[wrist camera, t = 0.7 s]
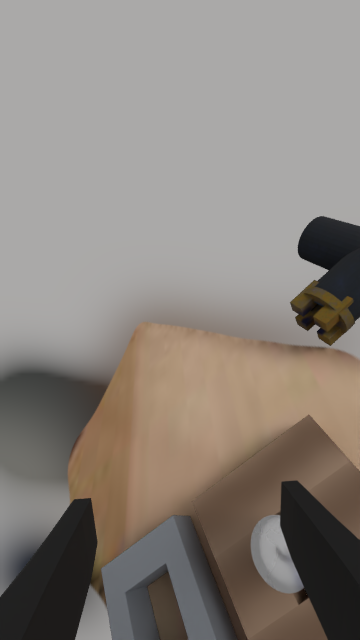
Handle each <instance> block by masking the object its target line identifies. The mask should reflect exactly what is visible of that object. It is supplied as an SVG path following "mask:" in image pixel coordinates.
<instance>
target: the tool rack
mask: <svg viewBox="0 0 360 640" xmlns="http://www.w3.org/2000/svg"><path fill="white" fill-rule="evenodd" d="M101 571H102V577H103V584H104V590H105V596H106V603H107V609H108V616H109V622H110V629H111V635H112V640H160V638H159V634H158V630H157V625H156V621H155V617H154V613H153V609H152V605H151V601H150V597H149V593H148V589H147V586H148V585H150V584H151V583H152V582H154V581H155V580H157V579H158V578H159V577H161V576H162V575H164V574H165V573H166V572H169V575H170V578H171V582H172V585H173V588H174V592H175V595H176V599H177V602H178V605H179V609H180V612H181V615H182V619H183V622H184V626H185V629H186V632H187V636H188V640H238V639H237V636H236V634H235V631H234V628H233V626H232V623H231V621H230V618H229V616H228V613H227V610H226V608H225V605H224V603H223V600H222V597H221V595H220V592H219V590H218V587H217V585H216V582H215V579H214V577H213V574H212V572H211V569H210V567H209V564H208V561H207V559H206V556H205V554H204V551H203V548H202V546H201V543H200V541H199V538H198V536H197V533H196V530H195V528H194V525H193V523H192V520H191V518H190V516H177V515H173V516H171V517H170V518H169V519H167V520H166V521H165V522H163V523H162V524H161V525H159V526H158V527H157V528H155V529H154V530H153V531H151V532H150V533H149V534H147V535H146V536H145V537H143V538H142V539H140V540H139V541H138V542H136V543H135V544H134V545H132V546H131V547H130V548H128V549H127V550H126V551H124V552H123V553H122V554H120V555H119V556H118V557H116V558H115V559H114V560H112V561H111V562H109V563H108V564H107V565H105V566H104V567H103V568H101Z"/></svg>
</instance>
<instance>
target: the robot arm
mask: <svg viewBox="0 0 360 640" xmlns="http://www.w3.org/2000/svg"><path fill="white" fill-rule="evenodd" d="M280 527H281V530H282V533H283V536H284V539H285V542H286V545H287V548H288V550H289V553H290V556H291V559H292V561H293V563H294V566H295V568H296V570H297V572H298V575H299V577H300V579H301V581H302V584H303V586H304V588H305V590H306V593H307V595H308V597H309V599H310V601H311V604H312V606H313V608H314V610H315V612H316V615H317V617H318V619H319V621H320V623H321V626H322V628H323V630H324V632H325V634H326V637H327V639H328V640H360V540H359V539H358V538H357V537H356V536H355V535H354V534H353V533H352V532H351V531H349V530H348V529H347V528H346V527H345V526H344V525H343V524H342V523H341V522H340V521H339V520H338V519H336V518H335V517H334V516H333V515H332V514H331V513H330V512H329V511H328V510H327V509H326V508H325V507H324V506H323V505H322V504H321V503H320V502H319V501H318V500H317V499H316V498H315V497H314V496H313V495H312V494H311V493H310V492H309V491H308V490H307V489H306V488H305V487H304V486H303V485H302V484H301V483H299V482H298V481H297V480H295V481H283V482H281V509H280ZM96 548H97V536H96V529H95V522H94V516H93V509H92V502H91V498H86V499H75V500H74V501H73V502H72V503H71V504H70V506H69V507H68V508H67V510H66V511H65V513H64V514H63V516H62V517H61V518H60V520H59V521H58V523H57V524H56V525H55V527H54V528H53V530H52V531H51V532H50V534H49V535H48V537H47V538H46V540H45V541H44V542H43V543H42V545H41V546H40V547H39V549H38V550H37V552H36V553H35V554H34V555H33V557H32V558H31V559H30V561H29V562H28V563H27V564H26V566H25V567H24V568H23V570H22V571H21V572H20V573H19V575H18V576H17V577H16V578H15V579H14V581H13V582H12V583H11V584H10V586H9V587H8V588H7V589H6V591H5V592H4V593H3V594H2V595H1V597H0V640H75V637H76V634H77V630H78V626H79V622H80V618H81V615H82V611H83V608H84V604H85V599H86V596H87V592H88V589H89V585H90V581H91V577H92V571H93V566H94V560H95V554H96Z"/></svg>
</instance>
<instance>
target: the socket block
mask: <svg viewBox="0 0 360 640" xmlns="http://www.w3.org/2000/svg"><path fill="white" fill-rule="evenodd" d="M295 480H297V481H298V482H299V483H301V484H302V485H303V486H304V487H305V488H306V489H307V490H308V491H309V492H310V493H311V494H312V495H313V496H314V497H315V498H316V499H317V500H318V501H319V502H320V503H321V504H322V505H323V506H324V507H325V508H326V509H327V510H328V511H329V512H330V513H331V514H332V515H333V516H334V517H335V518H336V519H338V520H339V521H340V522H341V523H342V524H343V525H344V526H345V527H346V528H347V529H348V530H349V531H351V532H352V533H353V534H354V535H355V536H356V537H357V538H358V539H359V540H360V471H359V470H358V469H357V468H356V467H355V466H354V465H353V463H352V462H351V461H350V460H349V459H348V458H347V457H346V456H345V454H344V453H343V452H342V451H341V450H340V449H339V448H338V447H337V445H336V444H335V443H334V442H333V441H332V440H331V439H330V438H329V436H328V435H327V434H326V433H325V432H324V431H323V430H322V429H321V427H320V426H319V425H318V424H317V423H316V422H315V421H314V420H313V418H312V417H311V416H310V415H308V416H306V417H305V418H303V419H302V420H301V421H299V422H298V423H297V424H295V425H294V426H293V427H291V428H290V429H289V430H287V431H286V432H285V433H283V434H282V435H281V436H279V437H278V438H277V439H275V440H274V441H272V442H271V443H270V444H268V445H267V446H266V447H264V448H263V449H262V450H260V451H259V452H258V453H256V454H255V455H254V456H252V457H251V458H250V459H248V460H247V461H246V462H244V463H243V464H242V465H240V466H239V467H237V468H236V469H235V470H233V471H232V472H231V473H229V474H228V475H227V476H225V477H224V478H223V479H221V480H220V481H219V482H217V483H216V484H215V485H213V486H212V487H211V488H209V489H208V490H206V491H205V492H204V493H202V494H201V495H200V496H198V497H197V498H196V499H194V500H193V501H192V504H193V506H194V509H195V511H196V513H197V516H198V518H199V521H200V523H201V526H202V528H203V531H204V533H205V536H206V538H207V541H208V543H209V545H210V548H211V550H212V553H213V555H214V558H215V560H216V563H217V565H218V568H219V570H220V573H221V575H222V578H223V580H224V582H225V585H226V587H227V590H228V592H229V595H230V597H231V600H232V602H233V605H234V607H235V610H236V612H237V614H238V617H239V619H240V622H241V624H242V627H243V629H244V632H245V634H246V637H247V639H248V640H328V639H327V637H326V634H325V632H324V630H323V628H322V626H321V623H320V621H319V619H318V617H317V615H316V612H315V610H314V608H313V606H312V604H311V601H310V599H309V597H308V596H307V595H306V593H305V591H304V589H302V590H300V591H298V592H296V593H290V594H289V593H283V592H280V591H277V590H275V589H274V588H272V587H271V586H270V585H268V584H267V583H266V582H265V581H264V579H263V578H262V577H261V575H260V574H259V572H258V570H257V569H256V566H255V564H254V561H253V558H252V554H251V536H252V532H253V530H254V527H255V526H256V524H257V523H258V522H259V521H260V520H261V519H262V518H264V517H266V516H269V515H280V509H281V482H283V481H295Z"/></svg>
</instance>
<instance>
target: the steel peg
mask: <svg viewBox="0 0 360 640" xmlns="http://www.w3.org/2000/svg"><path fill="white" fill-rule="evenodd" d="M251 554H252V558H253V561H254V564H255V566H256V569H257V570H258V572H259V574H260V575H261V577H262V578H263V579H264V581H265V582H266V583H267V584H268V585H270V586H271V587H272V588H274V589H275V590H277V591H280V592H283V593H289V594H290V593H296V592H298V591H300V590H302V589H303V588H304V586H303V584H302V581H301V579H300V577H299V575H298V572H297V570H296V568H295V566H294V563H293V561H292V559H291V556H290V553H289V550H288V548H287V545H286V542H285V539H284V536H283V533H282V530H281V527H280V515H269V516H266V517H264V518H262V519H261V520H260V521H259V522H258V523H257V524H256V526H255V527H254V530H253V532H252V536H251Z"/></svg>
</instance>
